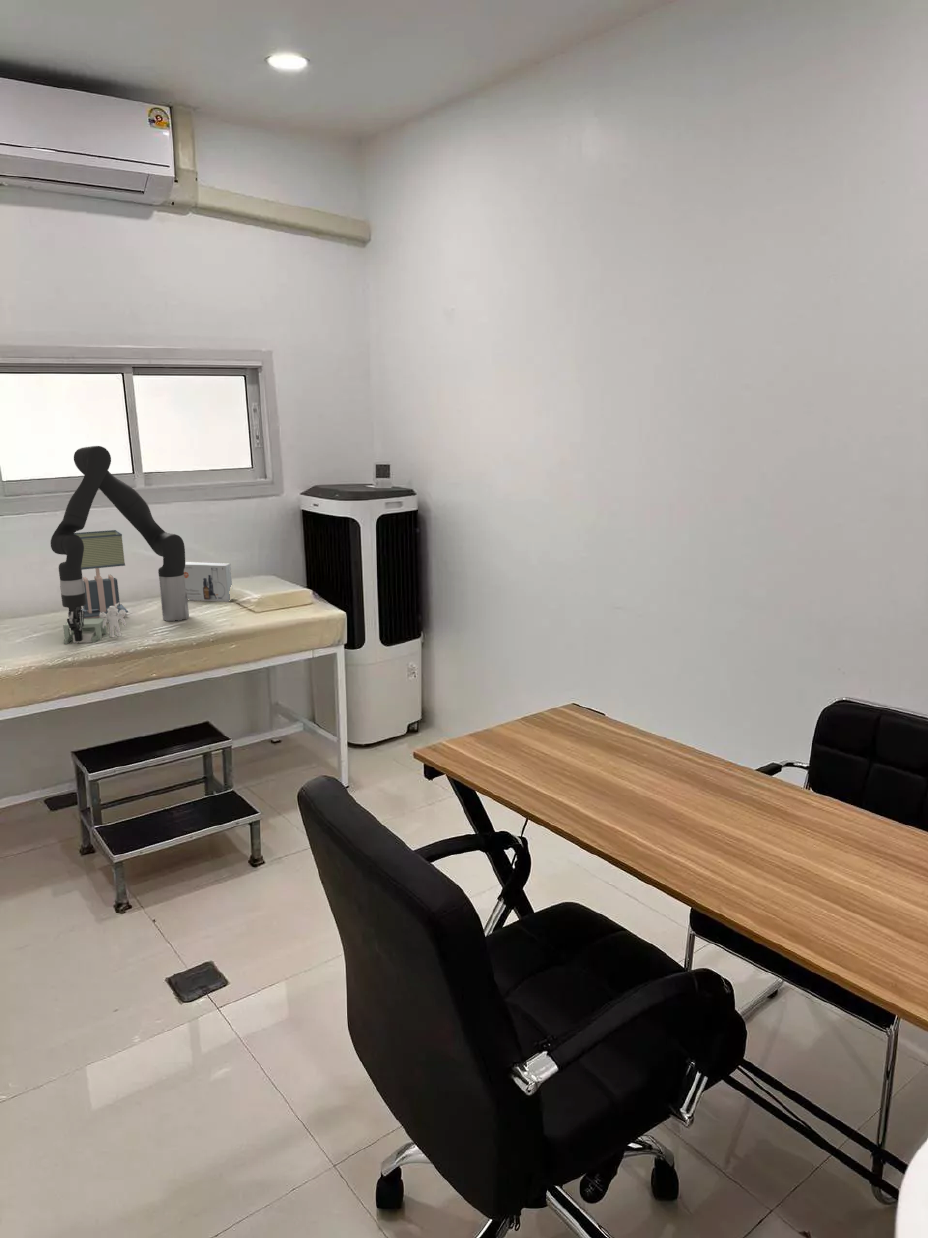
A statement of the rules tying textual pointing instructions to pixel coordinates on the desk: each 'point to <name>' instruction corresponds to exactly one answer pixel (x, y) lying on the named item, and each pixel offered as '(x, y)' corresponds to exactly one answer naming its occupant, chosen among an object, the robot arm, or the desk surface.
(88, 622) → the shelf
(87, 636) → the cover plate
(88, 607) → the desk lamp
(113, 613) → the hat wearing toy figure
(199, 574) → the skincare box
